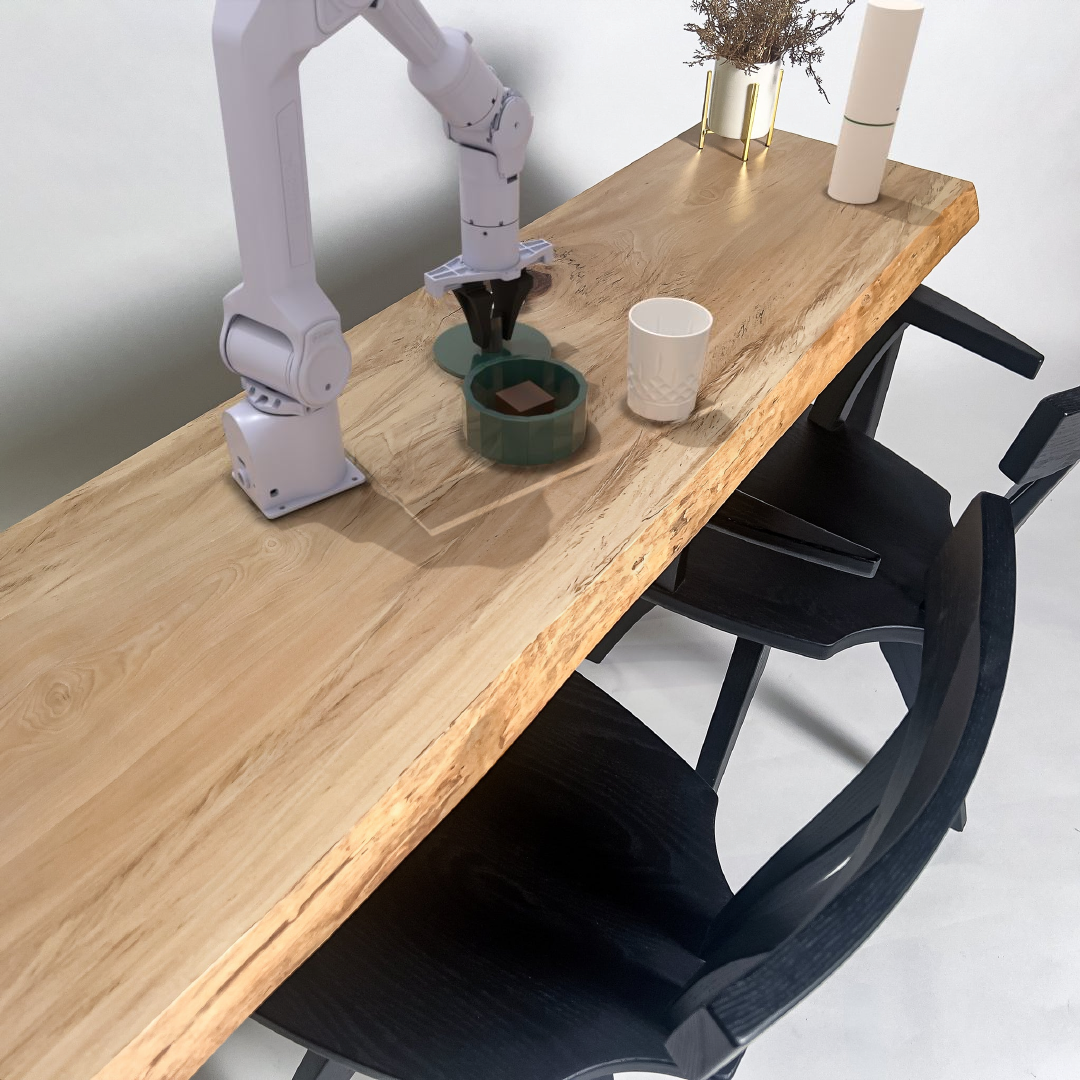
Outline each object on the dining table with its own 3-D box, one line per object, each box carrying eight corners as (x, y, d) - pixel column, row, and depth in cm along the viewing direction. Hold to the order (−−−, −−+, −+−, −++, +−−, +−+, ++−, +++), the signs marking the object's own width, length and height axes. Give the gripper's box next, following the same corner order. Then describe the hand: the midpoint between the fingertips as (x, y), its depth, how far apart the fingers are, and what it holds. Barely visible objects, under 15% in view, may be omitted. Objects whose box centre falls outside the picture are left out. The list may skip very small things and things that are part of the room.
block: (520, 448, 91) (520, 412, 88) (495, 428, 93) (494, 392, 90) (553, 434, 93) (554, 398, 90) (528, 415, 95) (529, 379, 92)
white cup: (642, 378, 101) (651, 290, 95) (712, 400, 98) (726, 310, 92) (607, 413, 96) (614, 322, 90) (679, 437, 93) (692, 344, 87)
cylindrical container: (883, 192, 143) (931, 2, 127) (868, 207, 138) (916, 12, 122) (836, 182, 146) (877, -5, 129) (820, 196, 141) (860, 4, 125)
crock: (510, 485, 87) (510, 435, 83) (441, 426, 94) (438, 378, 90) (609, 442, 92) (613, 393, 89) (536, 389, 99) (537, 342, 96)
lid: (476, 400, 98) (475, 356, 94) (410, 349, 105) (407, 306, 102) (575, 363, 103) (577, 320, 100) (505, 317, 111) (505, 275, 108)
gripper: (449, 247, 88) (455, 377, 97) (573, 212, 95) (568, 336, 104) (409, 222, 93) (418, 348, 101) (530, 190, 99) (529, 311, 108)
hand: (491, 340), depth 103 cm, fingers closed on lid, 2 cm apart
